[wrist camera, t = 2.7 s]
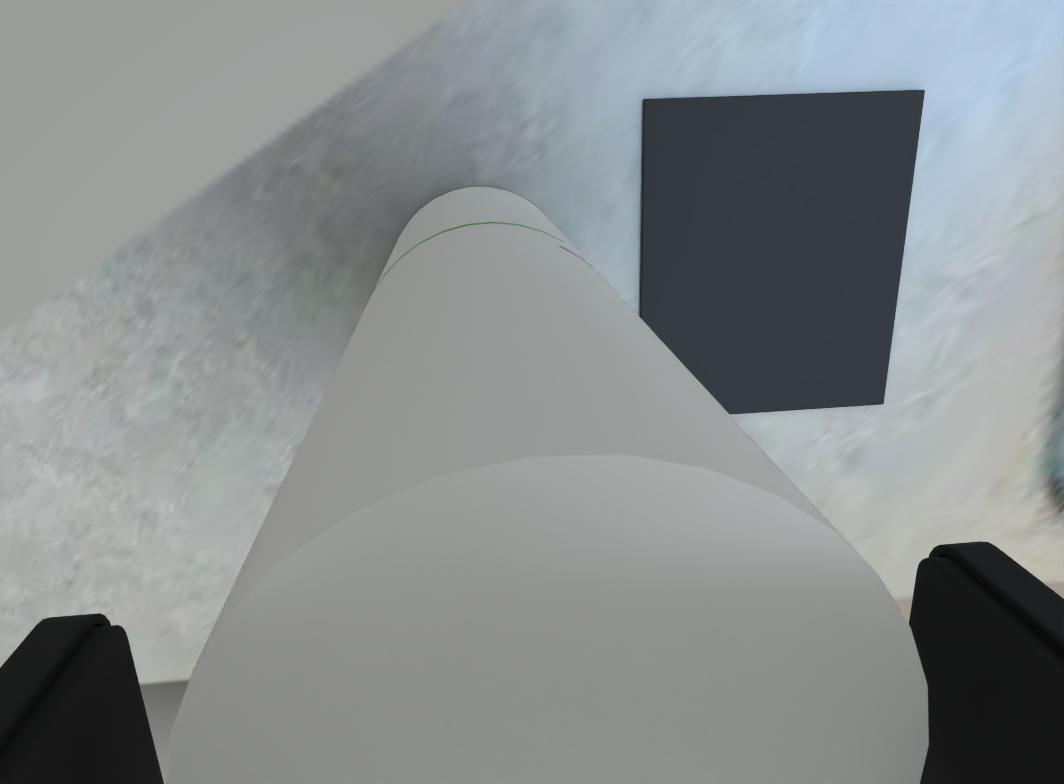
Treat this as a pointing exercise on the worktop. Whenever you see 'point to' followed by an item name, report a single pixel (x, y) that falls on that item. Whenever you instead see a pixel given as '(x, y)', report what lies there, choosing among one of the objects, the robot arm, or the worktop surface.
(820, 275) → the mat
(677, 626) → the cylindrical container
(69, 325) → the worktop surface
